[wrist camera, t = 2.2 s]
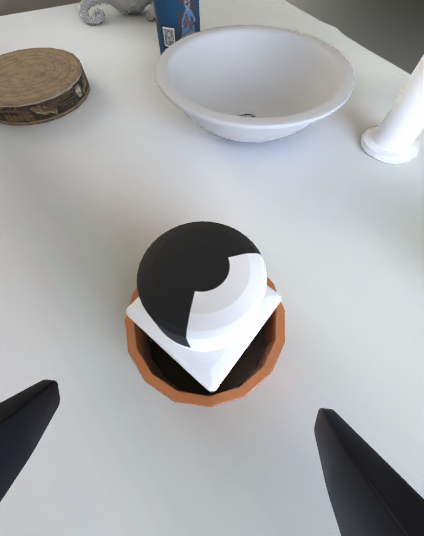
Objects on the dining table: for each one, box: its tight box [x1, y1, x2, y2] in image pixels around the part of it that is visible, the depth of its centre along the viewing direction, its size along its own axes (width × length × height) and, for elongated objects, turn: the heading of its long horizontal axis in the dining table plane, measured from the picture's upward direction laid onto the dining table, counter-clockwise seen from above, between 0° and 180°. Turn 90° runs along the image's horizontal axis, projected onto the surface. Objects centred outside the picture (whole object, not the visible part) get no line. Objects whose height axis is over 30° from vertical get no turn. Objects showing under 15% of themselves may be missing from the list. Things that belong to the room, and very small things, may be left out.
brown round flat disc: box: [0, 48, 90, 125], centre depth 37 cm, size 16×16×3 cm
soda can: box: [153, 0, 200, 55], centre depth 38 cm, size 7×7×12 cm
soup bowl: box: [155, 25, 355, 143], centre depth 33 cm, size 24×24×7 cm
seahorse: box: [79, 0, 155, 25], centre depth 51 cm, size 5×12×20 cm
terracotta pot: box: [125, 277, 285, 407], centre depth 19 cm, size 11×11×4 cm
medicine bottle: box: [126, 221, 281, 393], centre depth 16 cm, size 7×7×12 cm
